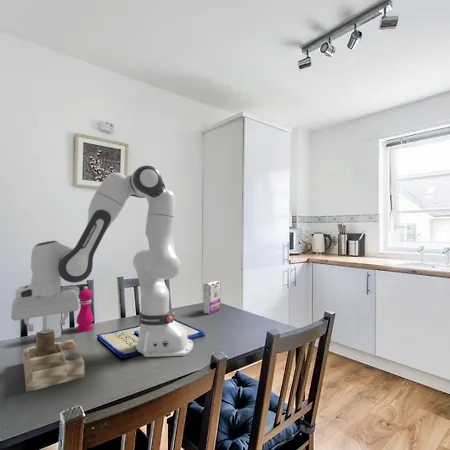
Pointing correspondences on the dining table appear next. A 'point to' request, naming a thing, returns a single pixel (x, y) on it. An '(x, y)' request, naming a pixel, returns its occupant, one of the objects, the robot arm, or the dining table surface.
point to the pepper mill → (85, 310)
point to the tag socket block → (52, 366)
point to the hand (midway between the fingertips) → (46, 327)
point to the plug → (45, 342)
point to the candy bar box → (211, 297)
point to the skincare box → (53, 323)
